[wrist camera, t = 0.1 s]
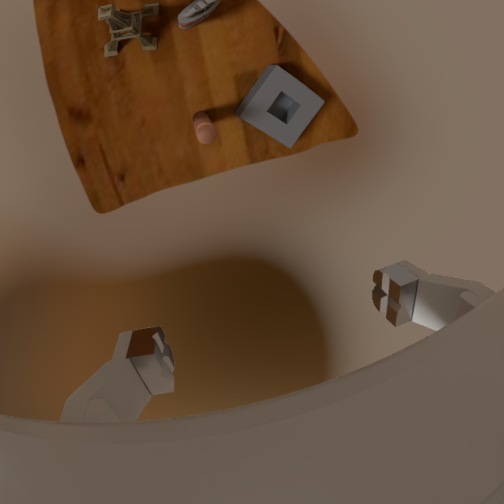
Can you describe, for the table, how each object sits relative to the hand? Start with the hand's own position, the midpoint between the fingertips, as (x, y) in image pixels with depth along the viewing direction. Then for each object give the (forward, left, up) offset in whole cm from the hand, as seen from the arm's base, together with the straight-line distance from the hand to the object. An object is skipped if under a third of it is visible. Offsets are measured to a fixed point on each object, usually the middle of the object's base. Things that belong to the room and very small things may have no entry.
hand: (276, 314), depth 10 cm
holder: (-9, +15, -52) cm, 55 cm away
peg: (+2, +3, -52) cm, 52 cm away
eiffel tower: (-9, -20, -52) cm, 57 cm away
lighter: (-17, -10, -52) cm, 56 cm away
